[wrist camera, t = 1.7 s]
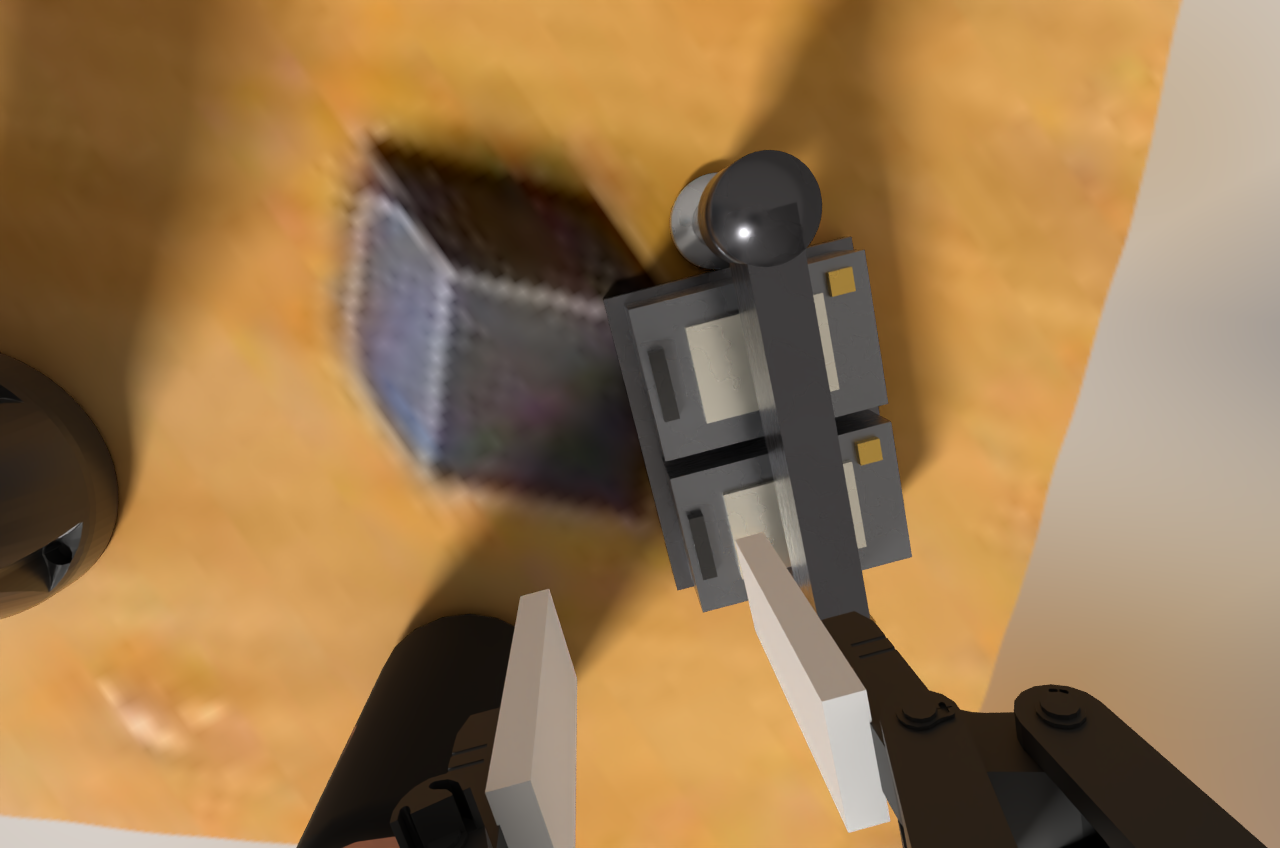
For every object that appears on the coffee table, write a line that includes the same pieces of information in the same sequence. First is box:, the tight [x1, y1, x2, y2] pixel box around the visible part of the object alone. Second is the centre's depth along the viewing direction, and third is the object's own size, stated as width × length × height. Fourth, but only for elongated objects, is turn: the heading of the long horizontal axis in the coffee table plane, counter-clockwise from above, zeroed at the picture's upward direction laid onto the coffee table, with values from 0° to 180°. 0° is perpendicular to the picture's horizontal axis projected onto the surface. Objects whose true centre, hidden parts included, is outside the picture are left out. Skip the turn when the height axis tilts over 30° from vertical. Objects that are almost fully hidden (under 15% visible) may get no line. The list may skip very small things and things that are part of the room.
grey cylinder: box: [670, 173, 730, 269], centre depth 34 cm, size 5×5×7 cm
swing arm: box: [698, 150, 876, 623], centre depth 31 cm, size 24×4×4 cm, turn 13°
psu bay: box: [603, 237, 912, 612], centre depth 38 cm, size 14×18×6 cm
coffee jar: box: [297, 614, 515, 848], centre depth 34 cm, size 11×11×18 cm
